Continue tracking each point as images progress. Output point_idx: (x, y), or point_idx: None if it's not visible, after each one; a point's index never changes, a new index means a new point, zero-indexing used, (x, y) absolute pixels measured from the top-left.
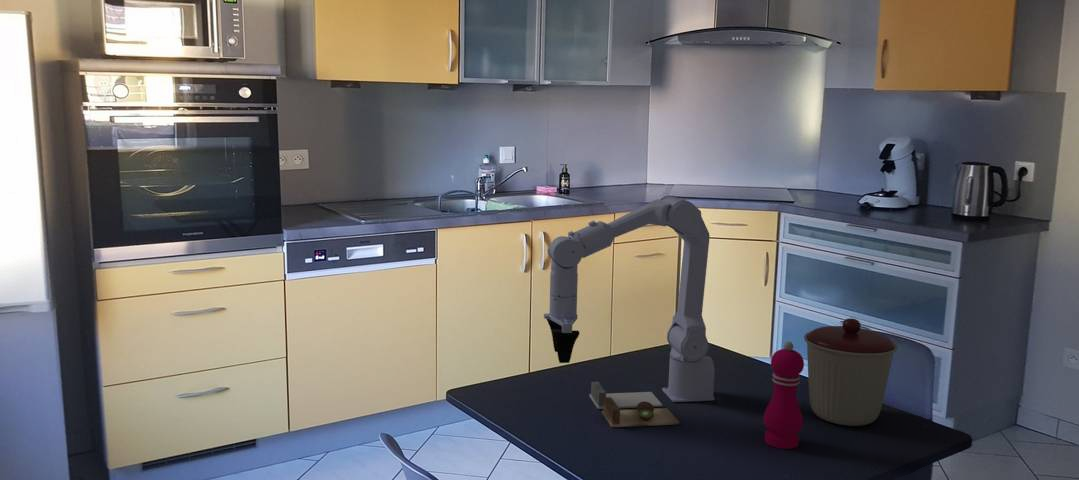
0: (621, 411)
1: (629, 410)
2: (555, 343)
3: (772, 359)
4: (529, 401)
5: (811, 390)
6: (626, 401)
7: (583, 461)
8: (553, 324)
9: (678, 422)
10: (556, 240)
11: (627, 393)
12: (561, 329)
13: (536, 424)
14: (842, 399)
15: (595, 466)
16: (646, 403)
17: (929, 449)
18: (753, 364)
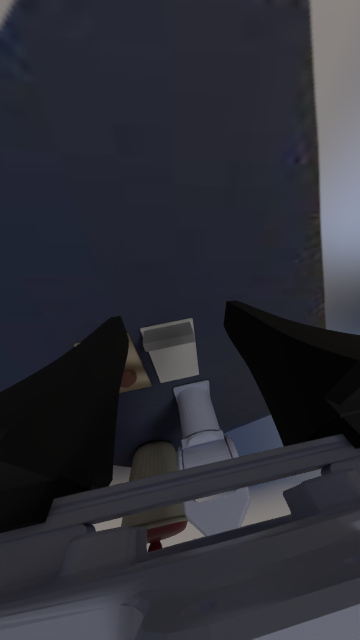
0: (131, 353)
1: (136, 360)
2: (241, 316)
3: None
4: (164, 211)
5: (151, 463)
6: (167, 356)
7: None
8: (313, 373)
9: None
10: None
11: (194, 357)
12: (11, 499)
13: (29, 225)
14: (131, 473)
15: None
16: (123, 385)
17: (114, 463)
18: (256, 417)
